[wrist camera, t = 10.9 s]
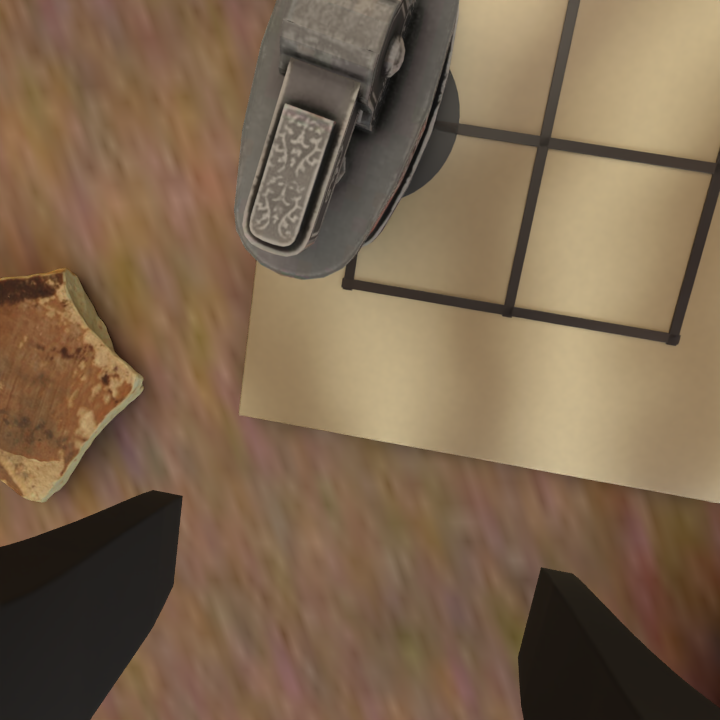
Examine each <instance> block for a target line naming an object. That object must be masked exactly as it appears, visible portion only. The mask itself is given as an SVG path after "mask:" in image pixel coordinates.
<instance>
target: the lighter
mask: <svg viewBox="0 0 720 720" xmlns="http://www.w3.org/2000/svg"><path fill="white" fill-rule="evenodd" d="M458 16H459V0H277V1H276V4H275V7H274V9H273V12H272V15H271V18H270V20H269V23H268V26H267V29H266V32H265V34H264V37H263V40H262V43H261V47H260V52H259V56H258V61H257V65H256V70H255V74H254V79H253V84H252V88H251V93H250V97H249V102H248V106H247V111H246V115H245V120H244V125H243V129H242V138H241V148H240V158H239V167H238V177H237V187H236V197H235V206H234V213H235V223H236V230H237V232H238V234H239V236H240V238H241V240H242V243H243V245H244V247H245V249H246V250H247V251H248V252H249V253H250V254H251V255H252V256H253V257H254V258H255V259H256V260H257V261H258V262H259V263H260V264H261V265H263V266H264V267H266V268H268V269H270V270H272V271H273V272H275V273H277V274H279V275H281V276H286V277H290V278H295V279H300V280H307V279H317V278H324V277H326V276H329V275H331V274H333V273H335V272H337V271H339V270H341V269H343V268H344V267H345V266H346V265H347V264H348V263H349V262H350V261H351V260H352V259H353V257H354V256H355V255H356V254H357V253H358V252H359V251H360V249H361V248H362V247H364V246H366V245H368V244H370V243H372V242H373V241H374V240H375V239H376V237H377V236H378V235H379V234H380V233H381V232H382V231H383V229H384V227H385V225H386V224H387V222H388V220H389V219H390V217H391V215H392V214H393V212H394V210H395V208H396V207H397V205H398V203H399V202H400V200H401V198H402V197H403V195H404V193H405V192H406V190H407V188H408V186H409V184H410V182H411V180H412V177H413V175H414V173H415V171H416V168H417V166H418V164H419V161H420V159H421V157H422V155H423V152H424V150H425V148H426V146H427V143H428V141H429V139H430V137H431V134H432V131H433V127H434V124H435V120H436V117H437V113H438V110H439V107H440V103H441V100H442V96H443V93H444V89H445V86H446V82H447V79H448V74H449V68H450V63H451V57H452V51H453V45H454V39H455V34H456V28H457V22H458Z"/></svg>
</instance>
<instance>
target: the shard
mask: <svg viewBox="0 0 720 720" xmlns="http://www.w3.org/2000/svg"><path fill="white" fill-rule="evenodd" d="M142 381H143V377H142V376H141V375H140V374H139V373H137V372H136V371H135V370H134V369H133V368H132V367H131V366H130V365H129V364H127V363H126V362H125V361H124V360H122V359H121V358H120V357H119V356H118V355H117V354H116V353H115V352H114V349H113V344H112V341H111V339H110V337H109V334H108V332H107V327H106V326H105V324H104V323H103V322H102V320H101V319H100V318H99V317H98V316H97V313H96V311H95V308H94V306H93V305H92V303H91V301H90V300H89V298H88V296H87V295H86V293H85V292H84V290H83V287H82V285H81V283H80V281H79V279H78V277H77V276H76V274H74V273H73V272H71V271H70V270H69V269H67V268H61V269H56V270H53V271H51V272H48V273H38V274H34V275H29V276H18V277H4V278H0V480H1V481H3V482H4V483H6V484H7V485H8V486H9V487H10V488H12V489H13V490H14V491H15V492H16V493H17V494H19V495H20V496H22V497H24V498H25V499H28V500H32V501H38V502H46V501H47V499H48V498H49V497H51V496H52V495H53V494H54V493H55V492H57V491H60V490H61V488H62V487H63V486H64V485H65V484H66V482H67V481H68V480H69V477H70V475H71V474H72V472H73V471H74V470H75V468H76V466H77V465H78V463H79V461H80V460H81V458H82V456H83V455H84V453H85V451H86V450H87V449H88V448H89V447H90V445H91V444H92V442H93V440H94V439H95V437H96V436H97V435H98V434H99V433H100V432H101V431H102V430H103V429H104V427H105V426H106V425H107V424H108V423H109V422H110V421H111V420H112V419H113V418H114V417H115V416H116V415H117V414H118V413H120V412H121V411H122V410H124V409H125V408H126V406H127V405H128V404H129V403H130V402H132V401H133V400H134V399H136V398H137V397H138V396H139V395H140V394H141V393H142V391H143V389H144V387H143V385H142Z"/></svg>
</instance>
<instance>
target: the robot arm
mask: <svg viewBox="0 0 720 720" xmlns="http://www.w3.org/2000/svg"><path fill="white" fill-rule="evenodd" d="M182 497H183V496H180V495H175V494H170V493H165V492H160V491H155V490H153V491H149V492H146V493H143V494H141V495H138V496H136V497H133V498H131V499H128V500H126V501H124V502H121V503H119V504H117V505H114V506H112V507H110V508H107V509H105V510H102V511H100V512H98V513H95V514H93V515H91V516H88V517H86V518H83V519H81V520H78V521H76V522H73V523H71V524H68V525H65V526H62V527H60V528H57V529H54V530H52V531H49V532H46V533H43V534H41V535H38V536H35V537H32V538H29V539H26V540H23V541H20V542H17V543H13V544H10V545H6V546H3V547H0V720H90V719H91V718H92V716H93V715H94V713H95V712H96V710H97V709H98V707H99V706H100V704H101V703H102V701H103V700H104V699H105V697H106V696H107V694H108V693H109V691H110V690H111V688H112V687H113V685H114V684H115V682H116V681H117V680H118V678H119V677H120V675H121V674H122V672H123V671H124V669H125V668H126V666H127V665H128V663H129V662H130V661H131V659H132V658H133V656H134V655H135V653H136V652H137V650H138V649H139V647H140V646H141V644H142V643H143V641H144V640H145V638H146V637H147V635H148V634H149V632H150V631H151V629H152V628H153V626H154V624H155V622H156V620H157V618H158V616H159V614H160V612H161V610H162V608H163V606H164V604H165V602H166V600H167V598H168V595H169V593H170V591H171V589H172V587H173V584H174V574H175V564H176V555H177V545H178V535H179V526H180V516H181V506H182ZM518 664H519V682H520V695H521V707H522V712H523V717H524V720H720V708H719V707H717V706H716V705H715V704H713V703H712V702H711V701H710V700H708V699H707V698H706V697H704V696H703V695H702V694H700V693H699V692H698V691H697V690H695V689H694V688H693V687H691V686H690V685H689V684H688V683H687V682H685V681H684V680H683V679H682V678H680V677H679V676H678V675H677V674H676V673H675V672H673V671H672V670H671V669H670V668H669V667H668V666H667V665H666V664H665V663H663V662H662V661H661V660H660V659H659V658H658V657H657V656H656V655H654V654H653V653H652V652H651V651H650V650H649V649H648V648H647V647H646V646H645V645H644V644H643V643H642V642H641V641H640V640H639V639H638V638H636V637H635V636H634V635H633V634H632V633H631V632H630V631H629V630H628V629H627V628H626V627H625V626H624V625H623V624H622V623H621V622H620V621H619V620H618V619H617V617H616V616H615V615H614V614H613V613H612V612H611V611H610V610H609V609H608V608H607V607H606V606H605V605H604V604H603V603H602V602H601V601H600V600H599V599H598V598H597V597H596V596H595V595H594V594H593V593H592V592H591V591H590V590H589V589H588V588H587V586H586V585H585V584H583V583H582V582H581V581H580V580H579V579H578V578H577V577H576V576H575V575H574V574H572V573H566V572H561V571H556V570H551V569H546V568H541V570H540V574H539V578H538V582H537V586H536V590H535V593H534V597H533V601H532V605H531V609H530V613H529V617H528V621H527V624H526V628H525V632H524V636H523V640H522V644H521V648H520V652H519V655H518Z"/></svg>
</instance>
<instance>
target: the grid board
mask: <svg viewBox="0 0 720 720" xmlns="http://www.w3.org/2000/svg"><path fill="white" fill-rule="evenodd" d="M239 415H241V416H247V417H252V418H258V419H263V420H268V421H274V422H279V423H285V424H290V425H296V426H301V427H307V428H312V429H317V430H323V431H328V432H334V433H339V434H345V435H350V436H355V437H361V438H366V439H372V440H377V441H383V442H388V443H394V444H399V445H404V446H410V447H415V448H421V449H426V450H432V451H437V452H442V453H448V454H453V455H459V456H464V457H470V458H475V459H480V460H486V461H491V462H497V463H502V464H508V465H513V466H519V467H524V468H529V469H535V470H540V471H546V472H551V473H557V474H562V475H567V476H573V477H578V478H584V479H589V480H595V481H600V482H606V483H611V484H616V485H622V486H627V487H633V488H638V489H644V490H649V491H654V492H660V493H665V494H671V495H676V496H682V497H687V498H692V499H698V500H703V501H709V502H714V503H720V0H459V16H458V22H457V28H456V34H455V39H454V45H453V51H452V57H451V63H450V68H449V74H448V79H447V82H446V86H445V89H444V93H443V96H442V100H441V103H440V107H439V110H438V113H437V117H436V120H435V124H434V127H433V131H432V134H431V137H430V139H429V141H428V143H427V146H426V148H425V150H424V152H423V155H422V157H421V159H420V161H419V164H418V166H417V168H416V171H415V173H414V175H413V177H412V180H411V182H410V184H409V186H408V188H407V190H406V192H405V193H404V195H403V197H402V198H401V200H400V202H399V203H398V205H397V207H396V208H395V210H394V212H393V214H392V215H391V217H390V219H389V220H388V222H387V224H386V225H385V227H384V229H383V231H382V232H381V233H380V234H379V235H378V236H377V237H376V239H375V240H374V241H373V242H372V243H370V244H368V245H366V246H364V247H362V248H361V249H360V251H359V252H358V253H357V254H356V255H355V256H354V257H353V259H352V260H351V261H350V262H349V263H348V264H347V265H346V266H345V267H344V268H343V269H341V270H339V271H337V272H335V273H333V274H331V275H329V276H326V277H324V278H317V279H307V280H300V279H295V278H290V277H286V276H281V275H279V274H277V273H275V272H273V271H272V270H270V269H268V268H266V267H264V266H263V265H261V264H260V263H259V262H258V261H257V260H256V268H255V276H254V285H253V293H252V302H251V311H250V319H249V328H248V336H247V345H246V354H245V362H244V371H243V379H242V388H241V397H240V405H239Z"/></svg>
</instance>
